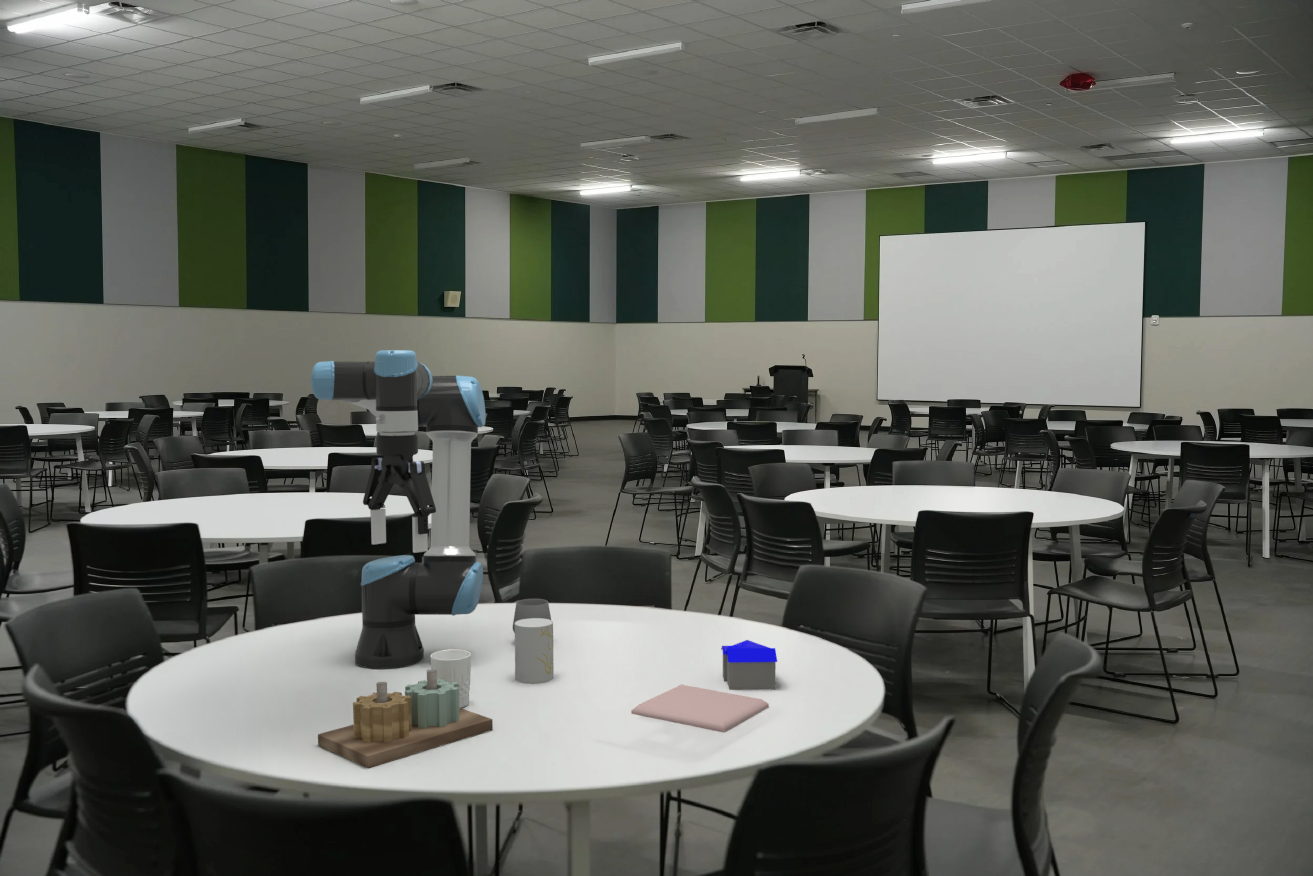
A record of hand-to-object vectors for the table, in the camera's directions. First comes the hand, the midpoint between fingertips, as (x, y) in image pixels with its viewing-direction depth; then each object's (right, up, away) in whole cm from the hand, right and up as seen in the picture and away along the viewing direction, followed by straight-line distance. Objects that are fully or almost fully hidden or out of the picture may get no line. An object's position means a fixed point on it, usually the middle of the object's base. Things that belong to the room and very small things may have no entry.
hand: (399, 547), depth 204 cm
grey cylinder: (+22, -31, +30) cm, 48 cm away
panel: (+50, -33, +2) cm, 60 cm away
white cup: (+8, -32, +12) cm, 35 cm away
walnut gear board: (+3, -33, -8) cm, 34 cm away
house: (+67, -31, +26) cm, 79 cm away
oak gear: (0, -32, -11) cm, 34 cm away
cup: (+18, -29, +59) cm, 68 cm away
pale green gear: (+7, -31, -4) cm, 32 cm away
